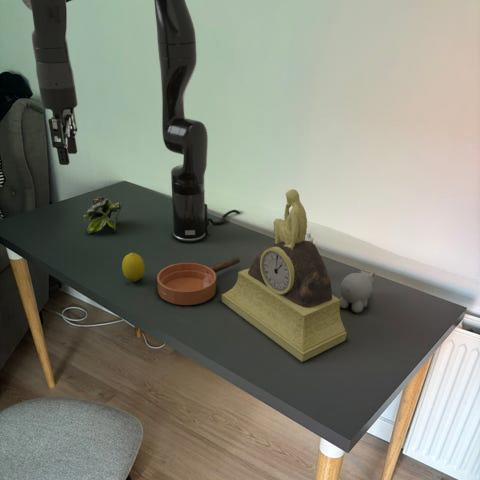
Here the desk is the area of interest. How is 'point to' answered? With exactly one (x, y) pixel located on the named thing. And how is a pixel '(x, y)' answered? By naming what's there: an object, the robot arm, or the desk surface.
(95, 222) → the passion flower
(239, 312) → the decorative clock
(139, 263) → the lemon
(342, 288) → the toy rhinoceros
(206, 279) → the pan
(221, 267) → the pan handle
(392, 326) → the desk surface
